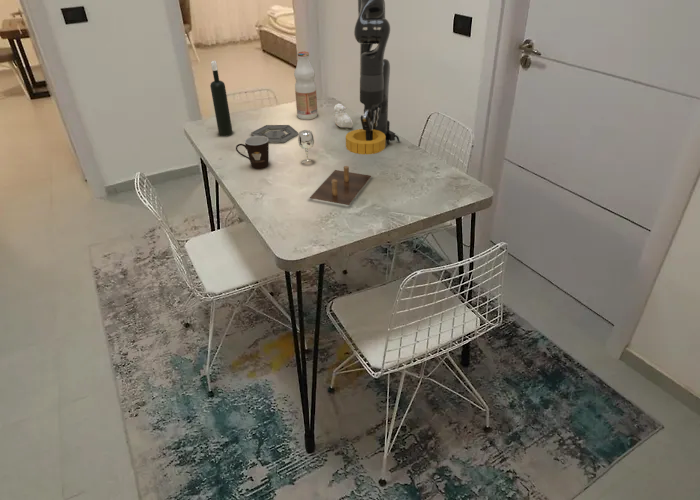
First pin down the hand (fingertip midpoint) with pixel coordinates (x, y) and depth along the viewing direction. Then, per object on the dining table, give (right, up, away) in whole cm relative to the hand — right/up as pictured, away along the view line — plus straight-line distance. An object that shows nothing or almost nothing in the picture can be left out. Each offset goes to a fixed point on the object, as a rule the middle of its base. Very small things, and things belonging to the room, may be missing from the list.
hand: (371, 138), depth 165 cm
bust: (-10, +17, +51) cm, 54 cm away
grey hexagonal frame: (-39, +12, +44) cm, 60 cm away
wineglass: (-23, -4, +21) cm, 32 cm away
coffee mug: (-42, -5, +20) cm, 47 cm away
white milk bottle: (-27, +24, +62) cm, 71 cm away
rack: (-10, -16, +4) cm, 20 cm away
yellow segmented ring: (-2, -3, -4) cm, 5 cm away
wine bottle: (-60, +12, +46) cm, 77 cm away
